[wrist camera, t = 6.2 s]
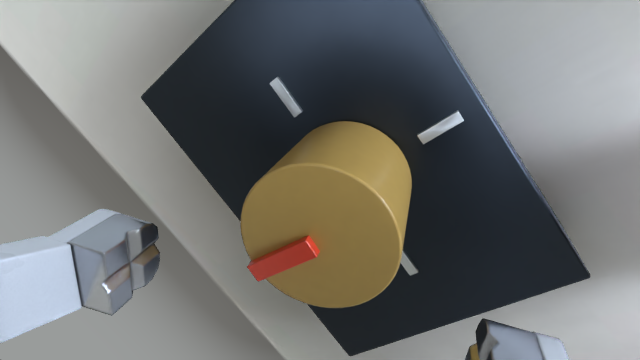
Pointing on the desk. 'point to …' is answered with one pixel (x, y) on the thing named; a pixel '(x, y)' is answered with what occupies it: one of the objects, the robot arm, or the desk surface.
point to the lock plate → (394, 121)
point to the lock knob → (330, 216)
